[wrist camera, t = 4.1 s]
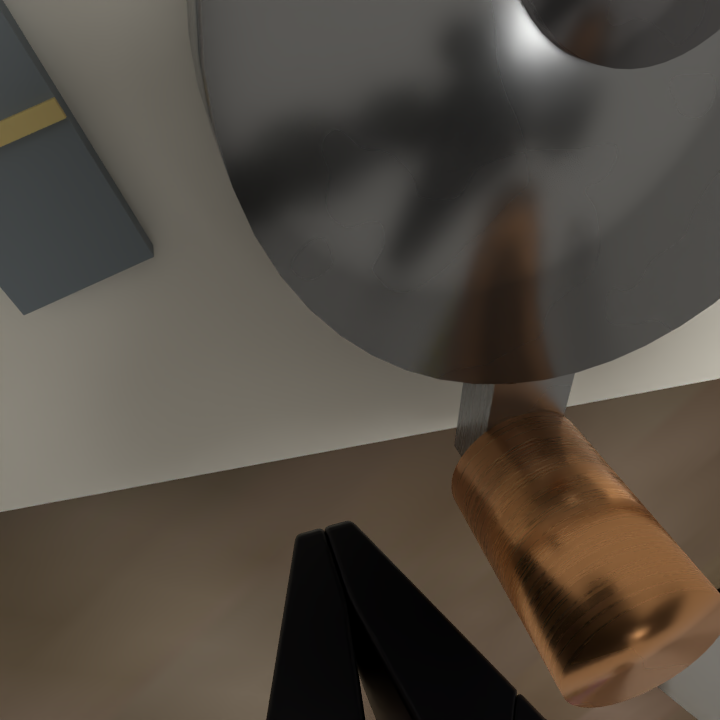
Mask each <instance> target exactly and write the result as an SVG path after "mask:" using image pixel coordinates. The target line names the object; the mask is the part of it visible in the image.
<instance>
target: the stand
mask: <svg viewBox="0 0 720 720" xmlns="http://www.w3.org/2000/svg"><path fill="white" fill-rule="evenodd" d="M719 378H720V299H719V300H718V301H716V302H715V303H714V304H713V305H711V306H710V307H708V308H707V309H705V310H704V311H702V312H701V313H699V314H698V315H696V316H695V317H693V318H692V319H690V320H689V321H687V322H686V323H684V324H683V325H682V326H680V327H678V328H676V329H675V330H673V331H671V332H669V333H668V334H666V335H664V336H662V337H660V338H659V339H657V340H655V341H653V342H652V343H650V344H648V345H646V346H644V347H642V348H639V349H637V350H635V351H633V352H631V353H628V354H626V355H624V356H622V357H619V358H617V359H615V360H613V361H610V362H607V363H604V364H601V365H598V366H595V367H592V368H589V369H586V370H584V371H581V372H577V373H575V375H574V379H573V383H572V386H571V390H570V394H569V398H568V402H567V406H566V407H569V406H574V405H579V404H585V403H590V402H595V401H601V400H606V399H612V398H617V397H622V396H628V395H633V394H638V393H644V392H649V391H655V390H660V389H665V388H671V387H676V386H682V385H687V384H692V383H698V382H703V381H708V380H714V379H719ZM462 386H463V383H462V382H455V381H447V380H440V379H436V378H432V377H429V376H425V375H422V374H418V373H414V372H411V371H407V370H404V369H402V368H400V367H397V366H395V365H393V364H391V363H388V362H386V361H384V360H381V359H379V358H377V357H374V356H372V355H371V354H369V353H367V352H366V351H364V350H363V349H361V348H359V347H358V346H356V345H355V344H353V343H351V342H350V341H348V340H347V339H345V338H343V337H342V336H340V335H339V334H338V333H337V332H336V331H334V330H333V329H332V328H331V327H330V326H329V325H327V324H326V323H325V322H324V321H323V320H322V319H320V318H319V317H318V316H317V315H316V314H314V313H313V312H312V311H311V310H310V309H309V308H308V307H307V306H306V305H305V304H304V302H303V301H302V300H301V299H300V298H299V297H298V295H297V294H296V293H295V292H294V291H293V290H292V289H291V287H290V286H289V285H288V284H287V283H286V282H285V281H284V279H283V278H282V277H281V276H280V274H279V273H278V271H277V270H276V268H275V267H274V265H273V263H272V262H271V260H270V259H269V257H268V256H267V254H266V253H265V251H264V249H263V248H262V246H261V245H260V243H259V242H258V240H257V239H256V237H255V235H254V233H253V231H252V229H251V226H250V224H249V222H248V220H247V218H246V216H245V214H244V211H243V209H242V207H241V205H240V203H239V201H238V198H237V196H236V194H235V192H234V190H233V187H232V185H231V182H230V179H229V176H228V174H227V171H226V168H225V166H224V163H223V160H222V157H221V155H220V152H219V149H218V146H217V144H216V141H215V138H214V136H213V133H212V130H211V126H210V123H209V120H208V117H207V114H206V110H205V107H204V104H203V101H202V98H201V94H200V91H199V88H198V84H197V78H196V73H195V67H194V62H193V56H192V51H191V45H190V40H189V33H188V17H187V1H186V0H0V512H4V511H9V510H14V509H20V508H25V507H30V506H36V505H41V504H47V503H52V502H57V501H63V500H68V499H73V498H79V497H84V496H90V495H95V494H100V493H106V492H111V491H117V490H122V489H127V488H133V487H138V486H143V485H149V484H154V483H160V482H165V481H170V480H176V479H181V478H186V477H192V476H197V475H203V474H208V473H213V472H219V471H224V470H230V469H235V468H240V467H246V466H251V465H256V464H262V463H267V462H273V461H278V460H283V459H289V458H294V457H299V456H305V455H310V454H316V453H321V452H326V451H332V450H337V449H343V448H348V447H353V446H359V445H364V444H369V443H375V442H380V441H386V440H391V439H396V438H402V437H407V436H412V435H418V434H423V433H429V432H434V431H439V430H445V429H450V428H456V427H457V423H458V416H459V408H460V401H461V394H462Z"/></svg>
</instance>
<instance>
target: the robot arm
mask: <svg viewBox="0 0 720 720" xmlns="http://www.w3.org/2000/svg"><path fill="white" fill-rule="evenodd" d="M358 673H359V674H358ZM359 676H360V679H361V682H362V684H363V687H364V690H365V692H366V695H367V697H368V700H369V703H370V705H371V708H372V710H373V713H374V715H375V718H376V720H546V719H545V718H544V717H543V716H542V715H541V714H540V713H539V712H538V711H537V710H536V709H535V708H534V707H533V706H532V705H531V704H530V703H529V702H528V701H527V700H526V699H525V698H524V697H523V696H522V695H521V694H519V695H517V690H516V689H515V688H514V687H513V686H512V685H511V684H510V683H509V682H508V681H507V680H506V679H505V677H504V676H503V675H502V674H501V673H500V672H499V671H498V670H497V669H496V668H495V667H494V666H493V665H492V664H491V663H490V662H489V661H488V660H487V659H486V658H485V657H484V656H483V655H482V654H481V653H480V652H479V651H478V650H477V649H476V648H475V647H474V646H473V645H472V644H471V643H470V642H469V641H468V640H467V638H466V637H465V636H464V635H463V634H462V633H461V632H460V631H459V630H458V629H457V628H456V627H455V626H454V625H453V624H452V623H451V622H450V621H449V620H448V619H447V618H446V617H445V616H444V615H443V614H442V613H441V612H440V611H439V610H438V609H437V608H436V607H435V606H434V605H433V604H432V603H431V602H430V601H429V600H428V598H427V597H426V596H425V595H424V594H423V593H422V592H421V591H420V590H419V589H418V588H417V587H416V586H415V585H414V584H413V583H412V582H411V581H410V580H409V579H408V578H407V577H406V576H405V575H404V574H403V573H402V572H401V571H400V570H399V569H398V568H397V567H396V566H395V565H394V564H393V563H392V562H391V561H390V559H389V558H388V557H387V556H386V555H385V554H384V553H383V552H382V551H381V550H380V549H379V548H378V547H377V546H376V545H375V544H374V543H373V542H372V541H371V540H370V539H369V538H368V537H367V536H366V535H365V534H364V533H363V532H362V531H361V530H360V529H359V528H358V527H357V526H356V525H355V524H354V523H353V522H351V521H345V522H341V523H338V524H334V525H330V526H328V527H326V529H325V532H324V531H323V530H322V529H316V530H312V531H308V532H305V533H301V534H299V535H298V536H297V537H296V539H295V544H294V551H293V557H292V563H291V569H290V575H289V582H288V588H287V594H286V600H285V607H284V613H283V619H282V625H281V631H280V638H279V644H278V650H277V656H276V663H275V669H274V675H273V681H272V687H271V694H270V700H269V706H268V712H267V719H266V720H365V715H364V708H363V701H362V694H361V687H360V680H359ZM516 696H517V697H516Z"/></svg>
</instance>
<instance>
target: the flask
mask: <svg viewBox="0 0 720 720" xmlns="http://www.w3.org/2000/svg"><path fill="white" fill-rule="evenodd" d="M657 687H658V688H660V689H661V690H662V691H663V692H664V693H666V694H667V695H668V696H669V697H670V698H672V699H673V700H674V701H675V702H677V703H678V704H679V705H680V706H682V707H683V708H684V709H685V710H687V711H688V712H689V713H691V714H692V715H693V716H694V717H696V718H697V719H698V720H720V635H719V637H718V638H717V639H716V640H715V642H714V643H713V644H712V645H711V646H710V647H709V648H708V649H707V651H706V652H705V653H703V654H702V655H701V656H700V657H699V658H698V659H697V660H696V661H695V662H693V663H692V664H691V665H690V666H688V667H687V668H686V669H684V670H683V671H682V672H680V673H679V674H677V675H676V676H674V677H673V678H671V679H670V680H668V681H666V682H665V683H663V684H661V685H659V686H657Z"/></svg>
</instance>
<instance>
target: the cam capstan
mask: <svg viewBox="0 0 720 720" xmlns="http://www.w3.org/2000/svg"><path fill="white" fill-rule="evenodd" d="M186 1H187V17H188V33H189V40H190V45H191V51H192V56H193V62H194V67H195V73H196V78H197V84H198V88H199V91H200V94H201V98H202V101H203V104H204V107H205V110H206V114H207V117H208V120H209V123H210V126H211V130H212V133H213V136H214V138H215V141H216V144H217V146H218V149H219V152H220V155H221V157H222V160H223V163H224V166H225V168H226V171H227V174H228V176H229V179H230V182H231V185H232V187H233V190H234V192H235V194H236V196H237V198H238V201H239V203H240V205H241V207H242V209H243V211H244V214H245V216H246V218H247V220H248V222H249V224H250V226H251V229H252V231H253V233H254V235H255V237H256V239H257V240H258V242H259V243H260V245H261V246H262V248H263V249H264V251H265V253H266V254H267V256H268V257H269V259H270V260H271V262H272V263H273V265H274V267H275V268H276V270H277V271H278V273H279V274H280V276H281V277H282V278H283V279H284V281H285V282H286V283H287V284H288V285H289V286H290V287H291V289H292V290H293V291H294V292H295V293H296V294H297V295H298V297H299V298H300V299H301V300H302V301H303V302H304V304H305V305H306V306H307V307H308V308H309V309H310V310H311V311H312V312H313V313H314V314H316V315H317V316H318V317H319V318H320V319H322V320H323V321H324V322H325V323H326V324H327V325H329V326H330V327H331V328H332V329H333V330H334V331H336V332H337V333H338V334H339V335H340V336H342V337H343V338H345V339H347V340H348V341H350V342H351V343H353V344H355V345H356V346H358V347H359V348H361V349H363V350H364V351H366V352H367V353H369V354H371V355H372V356H374V357H377V358H379V359H381V360H384V361H386V362H388V363H391V364H393V365H395V366H397V367H400V368H402V369H404V370H407V371H411V372H414V373H418V374H422V375H425V376H429V377H432V378H436V379H440V380H447V381H455V382H462V383H463V386H462V394H461V401H460V408H459V416H458V423H457V431H456V438H455V447H456V449H457V450H458V452H459V453H460V455H461V459H460V460H459V462H458V464H457V466H456V468H455V471H454V474H453V478H452V494H453V497H454V499H455V501H456V503H457V505H458V507H459V509H460V510H461V512H462V514H463V516H464V518H465V519H466V521H467V523H468V525H469V527H470V528H471V530H472V532H473V534H474V536H475V538H476V539H477V541H478V543H479V545H480V547H481V548H482V550H483V552H484V554H485V556H486V557H487V559H488V561H489V563H490V565H491V567H492V568H493V570H494V572H495V574H496V576H497V577H498V579H499V581H500V583H501V585H502V586H503V588H504V590H505V592H506V594H507V595H508V597H509V599H510V601H511V603H512V605H513V606H514V608H515V610H516V612H517V614H518V615H519V617H520V619H521V621H522V623H523V624H524V626H525V628H526V630H527V632H528V634H529V635H530V637H531V639H532V641H533V643H534V644H535V646H536V648H537V650H538V652H539V653H540V655H541V657H542V659H543V661H544V663H545V664H546V666H547V668H548V670H549V672H550V673H551V675H552V677H553V679H554V681H555V682H556V684H557V686H558V688H559V690H560V692H561V693H562V695H563V697H564V698H565V700H566V701H567V702H569V703H570V704H572V705H574V706H578V707H586V708H593V707H602V706H608V705H612V704H616V703H619V702H623V701H626V700H629V699H631V698H634V697H636V696H639V695H641V694H643V693H645V692H648V691H650V690H652V689H654V688H656V687H657V686H659V685H661V684H663V683H665V682H666V681H668V680H670V679H671V678H673V677H674V676H676V675H677V674H679V673H680V672H682V671H683V670H684V669H686V668H687V667H688V666H690V665H691V664H692V663H693V662H695V661H696V660H697V659H698V658H699V657H700V656H701V655H702V654H703V653H705V652H706V651H707V649H708V648H709V647H710V646H711V645H712V644H713V643H714V642H715V640H716V639H717V638H718V637H719V635H720V593H719V592H718V591H717V589H716V588H715V587H714V586H713V585H712V584H711V583H710V581H709V580H708V579H707V578H706V577H705V576H704V574H703V573H702V572H701V571H700V570H699V569H698V568H697V566H696V565H695V564H694V563H693V562H692V561H691V560H690V558H689V557H688V556H687V555H686V554H685V553H684V551H683V550H682V549H681V548H680V547H679V546H678V545H677V543H676V542H675V541H674V540H673V539H672V538H671V536H670V535H669V534H668V533H667V532H666V531H665V530H664V528H663V527H662V526H661V525H660V524H659V523H658V522H657V520H656V519H655V518H654V517H653V516H652V515H651V513H650V512H649V511H648V510H647V509H646V508H645V507H644V505H643V504H642V503H641V502H640V501H639V500H638V498H637V497H636V496H635V495H634V494H633V493H632V492H631V490H630V489H629V488H628V487H627V486H626V485H625V484H624V482H623V481H622V480H621V479H620V478H619V477H618V475H617V474H616V473H615V472H614V471H613V470H612V469H611V467H610V466H609V465H608V464H607V463H606V462H605V460H604V459H603V458H602V457H601V456H600V455H599V454H598V452H597V451H596V450H595V449H594V448H593V447H592V445H591V444H590V443H589V442H588V441H587V440H586V439H585V437H584V436H583V435H582V434H581V433H580V432H579V431H578V429H577V428H576V427H575V426H574V425H573V424H572V423H571V422H570V421H569V420H568V419H567V418H565V417H564V414H565V410H566V406H567V402H568V398H569V394H570V390H571V386H572V383H573V379H574V375H575V373H577V372H581V371H584V370H586V369H589V368H592V367H595V366H598V365H601V364H604V363H607V362H610V361H613V360H615V359H617V358H619V357H622V356H624V355H626V354H628V353H631V352H633V351H635V350H637V349H639V348H642V347H644V346H646V345H648V344H650V343H652V342H653V341H655V340H657V339H659V338H660V337H662V336H664V335H666V334H668V333H669V332H671V331H673V330H675V329H676V328H678V327H680V326H682V325H683V324H684V323H686V322H687V321H689V320H690V319H692V318H693V317H695V316H696V315H698V314H699V313H701V312H702V311H704V310H705V309H707V308H708V307H710V306H711V305H713V304H714V303H715V302H716V301H718V300H719V299H720V0H186Z"/></svg>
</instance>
